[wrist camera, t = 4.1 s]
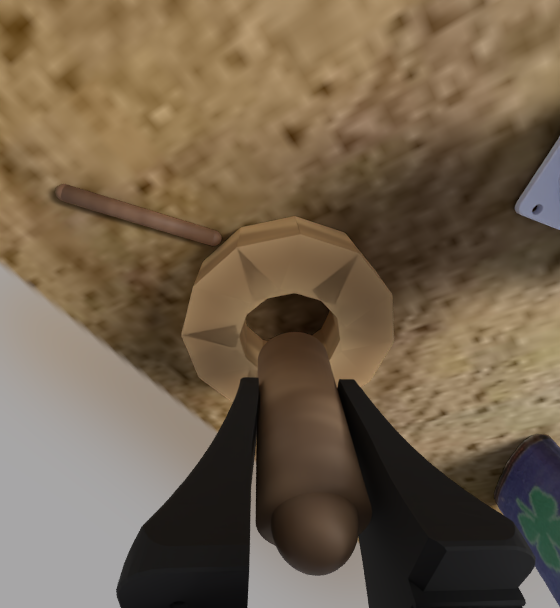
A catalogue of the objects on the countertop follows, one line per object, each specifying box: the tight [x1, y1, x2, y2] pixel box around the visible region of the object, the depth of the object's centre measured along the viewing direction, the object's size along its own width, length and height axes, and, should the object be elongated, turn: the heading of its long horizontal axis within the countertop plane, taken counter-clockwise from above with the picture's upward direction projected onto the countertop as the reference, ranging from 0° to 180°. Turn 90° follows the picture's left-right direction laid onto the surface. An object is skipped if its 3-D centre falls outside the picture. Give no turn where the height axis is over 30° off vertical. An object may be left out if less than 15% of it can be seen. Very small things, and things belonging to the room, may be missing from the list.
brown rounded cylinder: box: [256, 332, 372, 576], centre depth 12 cm, size 3×3×8 cm
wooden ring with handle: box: [55, 184, 394, 403], centre depth 18 cm, size 18×10×3 cm, turn 71°
